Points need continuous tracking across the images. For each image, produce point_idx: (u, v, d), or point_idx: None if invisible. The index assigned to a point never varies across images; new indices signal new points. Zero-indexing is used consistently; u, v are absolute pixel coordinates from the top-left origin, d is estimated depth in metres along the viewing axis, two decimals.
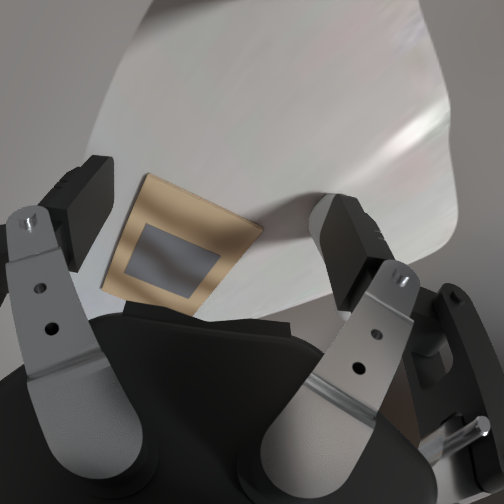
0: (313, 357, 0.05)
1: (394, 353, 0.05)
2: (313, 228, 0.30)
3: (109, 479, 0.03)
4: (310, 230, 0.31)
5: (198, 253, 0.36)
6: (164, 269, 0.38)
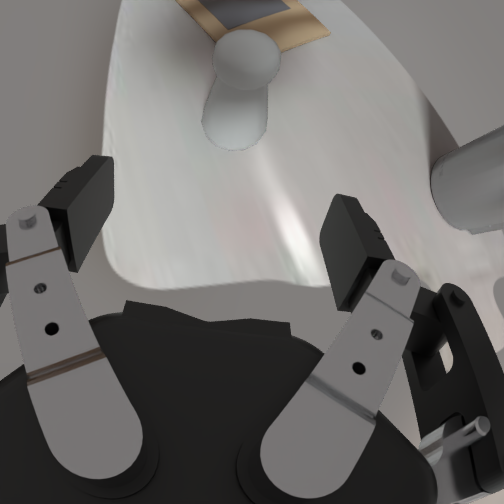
0: (313, 357, 0.05)
1: (394, 353, 0.05)
2: None
3: (109, 479, 0.03)
4: None
5: (240, 19, 0.30)
6: None
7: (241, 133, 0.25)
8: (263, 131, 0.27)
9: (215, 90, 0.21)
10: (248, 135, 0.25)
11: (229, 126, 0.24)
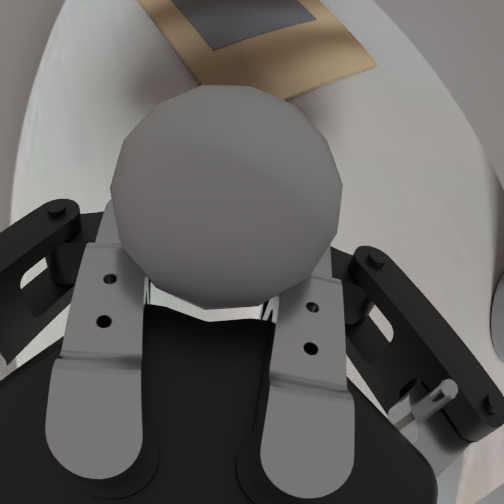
0: None
1: (336, 320, 0.05)
2: None
3: (109, 479, 0.03)
4: None
5: (236, 32, 0.19)
6: None
7: None
8: None
9: None
10: None
11: None
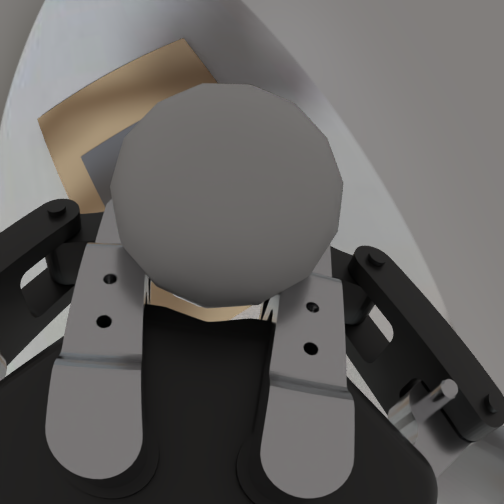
0: None
1: (336, 320, 0.05)
2: None
3: (109, 479, 0.03)
4: None
5: None
6: None
7: None
8: None
9: None
10: None
11: None
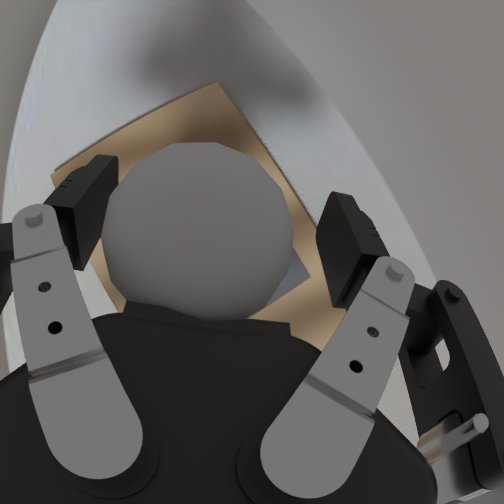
0: (313, 357, 0.05)
1: (391, 350, 0.05)
2: None
3: (109, 479, 0.03)
4: None
5: None
6: None
7: None
8: None
9: None
10: None
11: None
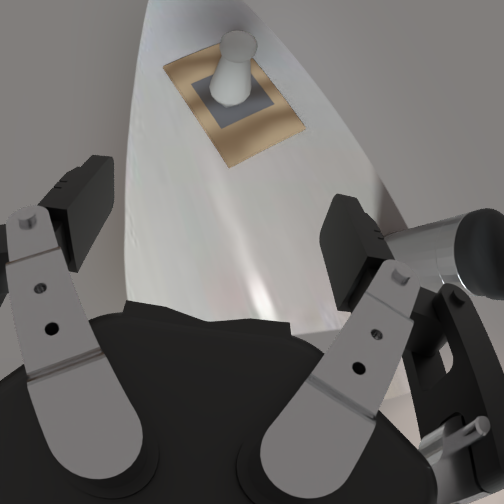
0: (313, 357, 0.05)
1: (394, 353, 0.05)
2: None
3: (109, 479, 0.03)
4: None
5: (232, 117, 0.43)
6: None
7: (233, 92, 0.38)
8: (248, 93, 0.41)
9: (219, 65, 0.35)
10: (238, 94, 0.39)
11: (226, 87, 0.38)
